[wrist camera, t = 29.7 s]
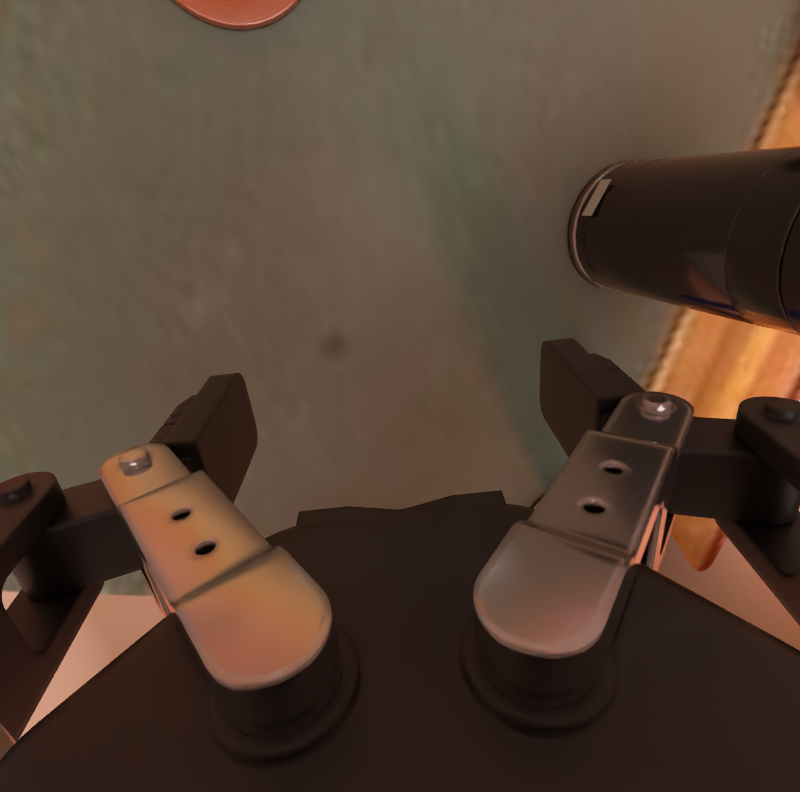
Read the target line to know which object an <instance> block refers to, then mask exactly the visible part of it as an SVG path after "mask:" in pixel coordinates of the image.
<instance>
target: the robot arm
mask: <svg viewBox="0 0 800 792" xmlns="http://www.w3.org/2000/svg"><path fill="white" fill-rule="evenodd" d="M569 247H570V253H571V256H572V259H573V262H574V264H575V266H576V268H577V270H578V271H579V273H580V274H581V275H582V276H583V277H584V278H585V279H586V280H587V281H589V282H590V283H592V284H594V285H596V286H598V287H602V288H605V289H609V290H619V291H623V292H627V293H630V294H634V295H638V296H642V297H646V298H650V299H654V300H658V301H662V302H666V303H670V304H674V305H678V306H682V307H686V308H690V309H694V310H698V311H702V312H706V313H710V314H714V315H718V316H722V317H726V318H730V319H734V320H738V321H742V322H746V323H750V324H754V325H758V326H762V327H767V328H771V329H775V330H779V331H783V332H787V333H791V334H795V335H799V336H800V146H792V147H782V148H772V149H761V150H751V151H741V152H731V153H721V154H711V155H701V156H691V157H681V158H670V159H658V160H648V161H645V160H633V161H625V162H620V163H617V164H614V165H612V166H610V167H608V168H606V169H605V170H603V171H602V172H600V173H599V174H598V175H597V176H596V177H594V178H593V179H592V180H591V182H590V183H589V184H588V185H587V186H586V188H585V189H584V190H583V192H582V194H581V195H580V197H579V199H578V201H577V203H576V205H575V207H574V210H573V213H572V217H571V221H570V227H569ZM540 406H541V411H542V414H543V417H544V419H545V420H546V422H547V424H548V425H549V427H550V428H551V430H552V432H553V433H554V435H555V436H556V438H557V440H558V441H559V443H560V444H561V446H562V448H563V449H564V451H565V452H566V454H567V456H568V457H569V458H568V460H567V461H566V463H565V464H564V466H563V467H562V469H561V470H560V472H559V473H558V475H557V476H556V478H555V480H554V481H553V483H552V484H551V486H550V487H549V489H548V490H547V492H546V493H545V495H544V496H543V498H542V499H541V501H540V502H539V504H538V505H537V507H536V508H535V509H533V508H529V507H525V506H518V505H511V504H506V502H505V499H504V497H503V494H502V491H501V490H500V491H491V492H481V493H472V494H462V495H453V496H448V497H445V498H441V499H438V500H434V501H431V502H427V503H423V504H420V505H416V506H413V507H409V508H405V509H399V510H394V509H379V508H364V507H349V506H348V507H338V508H329V509H319V510H310V511H300V512H299V514H298V518H297V523H296V526H295V527H291V528H288V529H286V530H283V531H280V532H278V533H276V534H273V535H271V536H269V537H267V538H265V539H264V538H263V537H262V535H261V534H260V533H259V532H258V531H257V530H256V529H255V528H254V527H253V526H252V524H251V523H250V522H249V521H248V520H247V519H246V518H245V517H244V516H243V514H242V513H241V512H240V511H239V510H238V509H237V508H236V507H235V506H234V505H233V504H234V501H235V499H236V496H237V494H238V491H239V489H240V486H241V484H242V481H243V479H244V477H245V474H246V472H247V469H248V467H249V464H250V462H251V459H252V457H253V454H254V452H255V449H256V446H257V428H256V423H255V419H254V415H253V411H252V407H251V404H250V400H249V396H248V392H247V388H246V384H245V381H244V378H243V376H242V375H241V374H240V373H234V374H225V375H215V376H211V377H210V378H209V379H208V380H207V382H206V383H205V384H204V386H203V387H202V389H201V390H200V391H199V393H198V394H197V395H193V396H192V397H190V398H188V399H187V400H185V401H184V402H182V403H181V404H179V405H178V406H177V407H176V409H175V410H174V411H173V413H172V414H171V415H170V417H169V418H168V419H167V420H166V422H165V423H164V426H162V427H161V428H160V429H159V431H158V432H157V433H156V435H155V436H154V437H153V438H152V440H151V441H150V442H149V444H145V445H140V446H136V447H132V448H129V449H127V450H124V451H122V452H120V453H118V454H116V455H114V456H113V457H111V458H110V459H108V460H107V461H106V462H105V463H104V464H103V465H102V466H101V468H100V470H99V476H100V478H101V479H100V480H97V481H93V482H90V483H86V484H82V485H79V486H75V487H71V488H68V489H64V490H62V489H61V487H60V485H59V483H58V481H57V479H56V477H55V475H54V474H52V473H49V472H34V473H28V474H24V475H21V476H18V477H15V478H12V479H9V480H7V481H5V482H2V483H0V792H800V651H799V650H797V649H795V648H794V647H792V646H790V645H789V644H787V643H785V642H783V641H781V640H780V639H778V638H776V637H774V636H772V635H770V634H769V633H767V632H765V631H763V630H761V629H759V628H758V627H756V626H754V625H752V624H751V623H749V622H747V621H745V620H743V619H742V618H740V617H738V616H736V615H734V614H733V613H731V612H729V611H727V610H725V609H724V608H722V607H720V606H718V605H716V604H715V603H713V602H711V601H709V600H707V599H705V598H704V597H702V596H700V595H698V594H696V593H695V592H693V591H691V590H689V589H687V588H686V587H684V586H682V585H680V584H678V583H677V582H675V581H673V580H671V579H669V578H668V577H666V576H664V575H662V574H660V573H659V569H660V565H661V562H662V559H663V556H664V552H665V549H666V546H667V543H668V540H669V536H670V533H671V530H672V527H673V524H674V520H675V514H678V515H687V516H696V517H705V518H714V519H715V521H716V523H717V524H718V526H719V527H720V528H721V530H722V531H723V532H724V533H725V534H726V536H727V537H728V538H729V539H730V541H731V542H732V543H733V544H734V545H735V547H736V548H737V549H738V550H739V552H740V553H741V554H742V555H743V557H744V558H745V559H746V560H747V562H748V563H749V564H750V565H751V566H752V568H753V569H754V570H755V571H756V572H757V574H758V575H759V576H760V578H761V579H762V580H763V581H764V583H765V584H766V585H767V586H768V587H769V589H770V590H771V591H772V592H773V594H774V595H775V596H776V597H777V598H778V599H779V601H780V602H781V603H782V605H783V606H784V607H785V608H786V610H787V611H788V612H789V613H790V614H791V616H792V617H793V618H794V619H795V621H796V622H797V623H798V624H799V626H800V512H799V507H800V402H799V401H795V400H791V399H786V398H780V397H753V398H749V399H746V400H744V401H742V402H741V403H740V404H739V408H738V413H737V417H736V419H718V418H702V417H694V416H693V414H694V408H693V406H692V405H691V404H690V403H689V402H687V401H686V400H684V399H682V398H680V397H677V396H675V395H671V394H667V393H661V392H646V391H645V390H643V389H642V388H641V387H640V386H639V385H638V384H637V383H636V382H635V381H633V380H632V379H631V378H630V377H628V375H627V374H626V373H624V372H623V371H622V370H620V368H619V367H618V366H617V365H616V364H614V363H613V362H612V361H611V360H609V359H607V358H604V357H602V356H599V355H597V354H595V353H594V354H589V353H588V352H587V351H586V350H585V349H584V348H583V347H582V346H581V345H580V344H579V343H577V342H576V341H575V340H574V339H573V338H568V339H559V340H549V341H544V342H543V343H542V347H541V362H540ZM137 570H141V572H142V574H143V577H144V579H145V581H146V583H147V585H148V587H149V589H150V591H151V593H152V595H153V597H154V599H155V601H156V603H157V605H158V607H159V609H160V611H161V613H162V615H163V617H164V619H163V620H161V621H160V622H159V623H158V624H157V625H155V626H154V627H153V628H152V629H151V630H150V631H148V632H147V633H146V634H145V635H143V636H142V637H141V638H140V639H138V640H137V641H136V642H135V643H134V644H132V645H131V646H130V647H129V648H128V649H126V650H125V651H124V652H123V653H122V654H120V655H119V656H118V657H117V658H116V659H114V660H113V661H112V662H111V663H109V664H108V665H107V666H106V667H105V668H103V669H102V670H101V671H100V672H99V673H97V674H96V675H95V676H94V677H92V678H91V679H90V680H89V681H88V682H86V683H85V684H84V685H83V686H82V687H80V688H79V689H78V690H77V691H76V692H74V693H73V694H72V695H71V696H69V697H68V698H67V699H66V700H65V701H64V702H62V703H61V704H60V705H59V706H57V707H56V708H55V709H54V710H53V711H51V712H50V713H49V714H48V715H46V716H45V717H44V718H43V719H42V720H41V721H39V722H38V723H37V724H36V725H35V726H33V727H32V728H31V729H30V730H29V731H28V732H27V733H26V734H24V735H23V736H22V737H21V738H20V736H21V734H22V732H23V731H24V729H25V727H26V725H27V723H28V721H29V720H30V718H31V716H32V714H33V712H34V711H35V709H36V707H37V705H38V703H39V701H40V700H41V698H42V696H43V694H44V693H45V691H46V689H47V687H48V685H49V684H50V682H51V680H52V678H53V676H54V674H55V673H56V671H57V669H58V667H59V665H60V664H61V662H62V660H63V658H64V656H65V655H66V653H67V651H68V649H69V647H70V645H71V644H72V642H73V640H74V638H75V637H76V635H77V633H78V631H79V629H80V627H81V625H82V624H83V622H84V620H85V618H86V617H87V615H88V613H89V611H90V609H91V607H92V606H93V604H94V602H95V600H96V599H97V597H98V595H99V593H100V591H101V590H102V587H103V585H104V581H106V580H109V579H112V578H115V577H118V576H122V575H125V574H128V573H131V572H134V571H137ZM11 572H13V574H14V575H15V577H16V579H17V581H18V582H19V584H20V586H21V587H22V590H21V591H20V592H19V594H18V595H17V596H16V598H15V599H14V601H13V602H12V603H11V605H10V606H9V608H8V609H7V610H5V608H4V606H3V603H2V589H3V585H4V583H5V581H6V579H7V577H8V576H9V575H10V573H11ZM19 738H20V739H19Z"/></svg>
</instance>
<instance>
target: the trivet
mask: <svg viewBox="0 0 800 792" xmlns="http://www.w3.org/2000/svg"><path fill="white" fill-rule="evenodd" d="M173 1H174V2H175V3H176V4H178V5H179V6H180V7H182V8H183V9H184V10H186V11H187V12H188V13H190V14H192V15H193V16H195V17H197V18H199V19H200V20H203V21H205V22H207V23H210V24H212V25H215V26H219V27H223V28H228V29H235V30H249V29H255V28H260V27H263V26H266V25H269V24H271V23H273V22H275V21H277V20H279V19H281V18H282V17H283V16H285V15H286V14H287V13H288V12H290V11H291V10H292V9H293V7H294V6H295V5H296V4H297V3H298V2H299V0H173Z"/></svg>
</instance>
